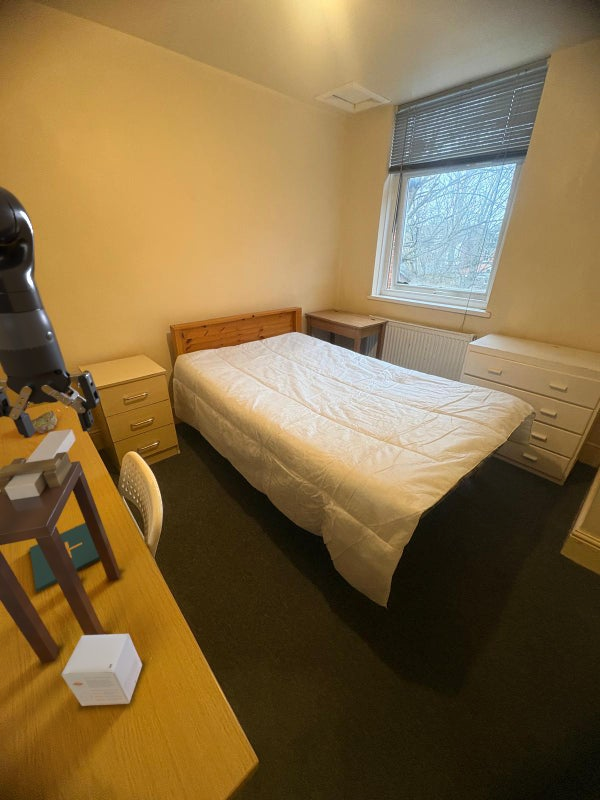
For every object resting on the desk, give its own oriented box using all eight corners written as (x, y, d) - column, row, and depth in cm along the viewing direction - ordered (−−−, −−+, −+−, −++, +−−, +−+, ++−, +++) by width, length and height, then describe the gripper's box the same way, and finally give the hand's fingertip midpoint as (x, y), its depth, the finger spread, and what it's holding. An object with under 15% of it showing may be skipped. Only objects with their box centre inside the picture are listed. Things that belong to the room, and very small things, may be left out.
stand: (42, 664, 58) (-52, 522, 42) (71, 583, 72) (8, 452, 56) (103, 646, 61) (36, 506, 45) (120, 571, 74) (73, 444, 58)
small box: (143, 665, 58) (130, 632, 53) (129, 705, 53) (114, 672, 48) (98, 666, 58) (81, 633, 53) (80, 707, 53) (59, 674, 48)
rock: (36, 420, 135) (31, 413, 133) (62, 414, 138) (57, 408, 136) (24, 439, 125) (18, 432, 123) (52, 433, 127) (47, 426, 125)
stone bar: (10, 500, 51) (4, 488, 50) (53, 442, 66) (49, 431, 64) (39, 495, 52) (34, 483, 51) (75, 439, 66) (72, 429, 65)
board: (37, 592, 70) (35, 589, 69) (31, 550, 79) (29, 547, 79) (108, 555, 78) (107, 552, 78) (94, 521, 88) (93, 518, 87)
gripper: (87, 331, 53) (110, 417, 60) (-18, 336, 49) (21, 426, 56) (71, 344, 46) (99, 438, 53) (-51, 350, 43) (-3, 450, 50)
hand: (59, 432), depth 55 cm, fingers open, 8 cm apart
